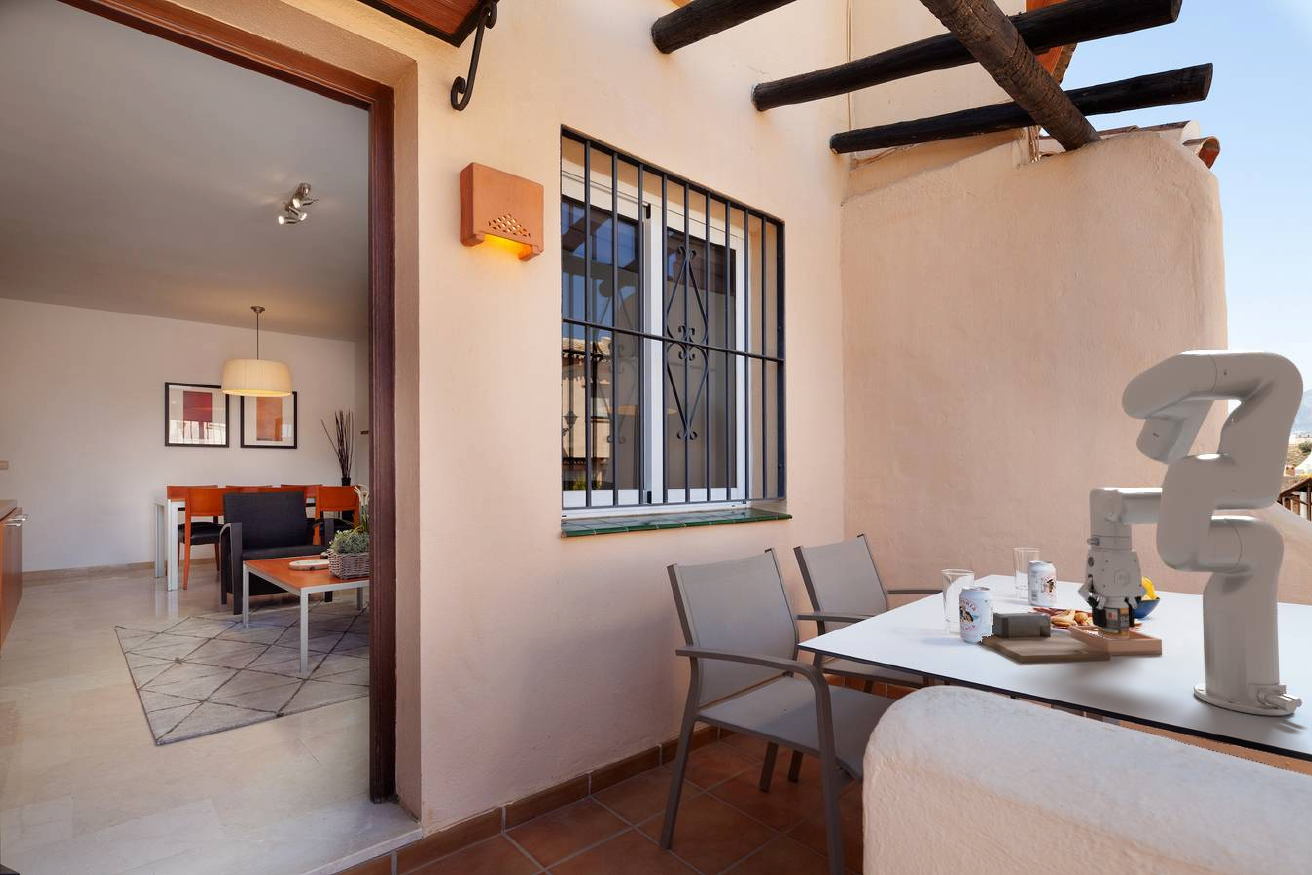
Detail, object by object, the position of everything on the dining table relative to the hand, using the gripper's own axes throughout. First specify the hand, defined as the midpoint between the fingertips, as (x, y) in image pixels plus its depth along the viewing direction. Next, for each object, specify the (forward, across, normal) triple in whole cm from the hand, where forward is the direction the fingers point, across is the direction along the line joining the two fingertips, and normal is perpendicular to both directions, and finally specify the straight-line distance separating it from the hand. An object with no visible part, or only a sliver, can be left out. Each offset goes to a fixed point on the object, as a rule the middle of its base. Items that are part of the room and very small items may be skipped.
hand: (1113, 625), depth 143 cm
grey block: (+3, -17, +5) cm, 18 cm away
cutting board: (+5, -17, -1) cm, 18 cm away
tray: (+5, 0, 0) cm, 5 cm away
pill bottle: (+3, 0, 0) cm, 3 cm away
